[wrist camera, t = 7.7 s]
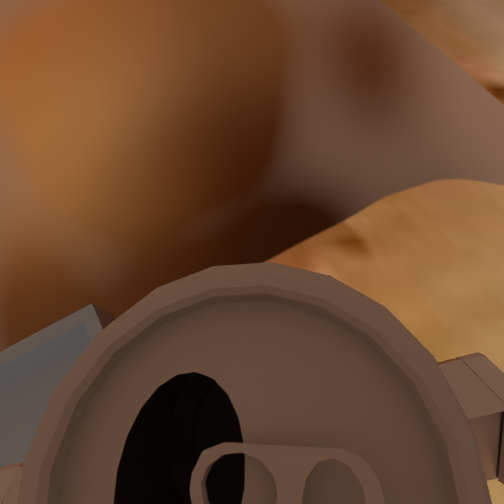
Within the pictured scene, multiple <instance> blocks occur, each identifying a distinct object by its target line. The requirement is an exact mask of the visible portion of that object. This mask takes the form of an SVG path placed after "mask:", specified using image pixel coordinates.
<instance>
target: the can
mask: <svg viewBox="0 0 504 504" xmlns="http://www.w3.org/2000/svg"><path fill="white" fill-rule="evenodd" d="M17 504H492V502H491V498H490V494H489V490H488V486H487V482H486V478H485V473H484V469H483V465H482V461H481V457H480V453H479V449H478V445H477V440H476V437H475V435H474V433H473V432H472V427H471V423H470V421H469V419H468V418H467V416H466V414H465V412H464V410H463V409H462V407H461V405H460V403H459V401H458V399H457V398H456V396H455V394H454V392H453V390H452V389H451V387H450V385H449V383H448V381H447V380H446V378H445V376H444V374H443V372H442V371H441V369H440V367H439V365H438V363H437V361H436V360H435V358H434V356H433V355H432V354H431V353H430V352H429V351H428V350H427V349H426V348H425V347H424V346H423V345H422V344H421V343H420V342H419V341H418V340H417V339H416V338H415V337H414V336H413V335H412V334H411V333H410V332H409V331H408V330H407V329H406V328H405V327H404V326H403V325H402V324H401V323H400V321H399V320H398V319H397V318H396V317H395V316H394V315H393V314H392V313H391V312H390V311H389V310H388V309H387V308H386V307H384V306H383V305H381V304H379V303H377V302H376V301H374V300H372V299H370V298H368V297H367V296H365V295H363V294H361V293H360V292H358V291H356V290H354V289H353V288H351V287H349V286H347V285H346V284H344V283H342V282H340V281H338V280H337V279H335V278H333V277H331V276H329V275H325V274H320V273H316V272H312V271H307V270H303V269H298V268H294V267H290V266H285V265H281V264H277V263H272V262H269V263H255V264H242V265H227V266H213V267H211V268H208V269H205V270H203V271H200V272H197V273H195V274H192V275H189V276H187V277H184V278H182V279H179V280H176V281H174V282H171V283H168V284H166V285H164V286H161V287H158V288H156V289H155V290H154V291H152V292H151V293H150V294H149V295H147V296H146V297H144V298H143V299H142V300H140V301H139V302H138V303H136V304H135V305H134V306H133V307H131V308H130V309H128V310H127V311H126V312H125V313H123V314H122V315H121V316H119V317H118V318H117V319H115V320H114V321H113V322H111V323H110V324H109V325H107V326H106V328H105V329H103V330H102V331H101V332H99V333H98V334H97V335H96V336H95V337H94V339H93V340H92V341H91V343H90V344H89V345H88V347H87V348H86V349H85V351H84V352H83V353H82V354H81V356H80V357H79V358H78V360H77V361H76V362H75V364H74V365H73V366H72V368H71V369H70V370H69V371H68V373H67V374H66V375H65V377H64V378H63V379H62V381H61V382H60V383H59V384H58V386H57V387H56V388H55V390H54V391H53V393H52V395H51V398H50V400H49V403H48V405H47V407H46V410H45V412H44V415H43V417H42V419H41V422H40V424H39V427H38V429H37V431H36V434H35V436H34V439H33V441H32V443H31V446H30V448H29V451H28V453H27V455H26V458H25V460H24V463H23V466H22V474H21V481H20V488H19V495H18V502H17Z"/></svg>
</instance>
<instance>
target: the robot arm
mask: <svg viewBox="0 0 504 504" xmlns="http://www.w3.org/2000/svg"><path fill="white" fill-rule="evenodd" d="M438 365H439V367H440V369H441V371H442V372H443V374H444V376H445V378H446V380H447V381H448V383H449V385H450V387H451V389H452V390H453V392H454V394H455V396H456V398H457V399H458V401H459V403H460V405H461V407H462V409H463V410H464V412H465V414H466V416H467V418H468V419H469V421H470V423H471V427H472V432H473V433H474V435H475V437H476V440H477V445H478V449H479V453H480V457H481V461H482V465H483V469H484V473H485V478H486V481H487V480H492V479H497V478H498V481H500V482H501V483H503V484H504V373H503V372H502V371H501V370H500V369H499V368H498V367H497V366H496V365H494V364H493V363H492V362H491V361H490V360H489V359H488V358H487V357H486V356H485V355H484V354H481V353H479V352H477V353H473V354H469V355H465V356H461V357H457V358H456V359H450V360H446V361H442V362H438ZM23 463H24V462H20V463H16V464H11V465H6V466H3V467H1V468H0V504H17V502H18V495H19V488H20V481H21V474H22V466H23Z"/></svg>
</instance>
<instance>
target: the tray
mask: <svg viewBox="0 0 504 504" xmlns="http://www.w3.org/2000/svg"><path fill="white" fill-rule="evenodd" d="M114 320H115V319H114V317H113V315H112V314H110V313H108V312H106V311H105V310H103V309H101V308H99V307H98V306H96V305H94V304H92V303H91V304H89V305H88V306H86V307H84V308H82V309H80V310H78V311H76V312H75V313H72V314H71V315H69V316H67V317H65V318H63V319H61V320H59V321H57V322H55V323H53V324H52V325H50V326H48V327H46V328H44V329H42V330H40V331H38V332H36V333H35V334H33V335H31V336H29V337H27V338H25V339H23V340H21V341H19V342H17V343H16V344H14V345H12V346H10V347H8V348H6V349H4V350H2V351H1V352H0V468H1V467H3V466H6V465H11V464H16V463H20V462H24V460H25V458H26V455H27V453H28V451H29V448H30V446H31V443H32V441H33V439H34V436H35V434H36V431H37V429H38V427H39V424H40V422H41V419H42V417H43V415H44V412H45V410H46V407H47V405H48V403H49V400H50V398H51V395H52V393H53V391H54V390H55V388H56V387H57V386H58V384H59V383H60V382H61V381H62V379H63V378H64V377H65V375H66V374H67V373H68V371H69V370H70V369H71V368H72V366H73V365H74V364H75V362H76V361H77V360H78V358H79V357H80V356H81V354H82V353H83V352H84V351H85V349H86V348H87V347H88V345H89V344H90V343H91V341H92V340H93V339H94V337H95V336H96V335H97V334H98V333H99V332H101V331H102V330H103V329H105V328H106V326H107V325H109V324H110V323H111V322H113V321H114Z"/></svg>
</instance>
